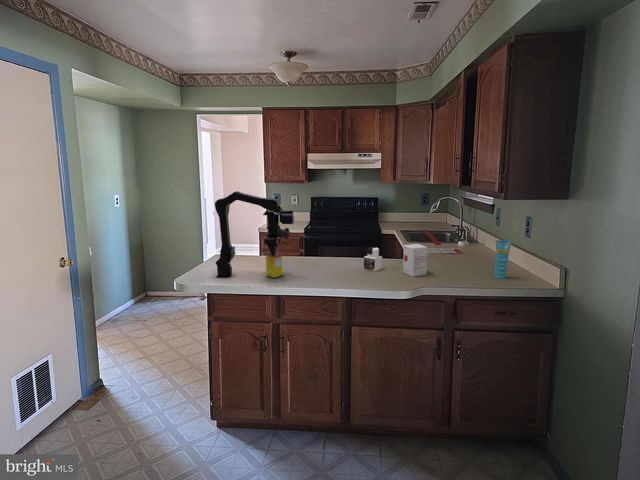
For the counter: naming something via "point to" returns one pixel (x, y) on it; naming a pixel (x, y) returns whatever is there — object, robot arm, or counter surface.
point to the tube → (502, 258)
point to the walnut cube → (275, 253)
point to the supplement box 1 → (274, 266)
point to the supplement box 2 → (415, 259)
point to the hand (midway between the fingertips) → (273, 254)
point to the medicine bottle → (373, 260)
